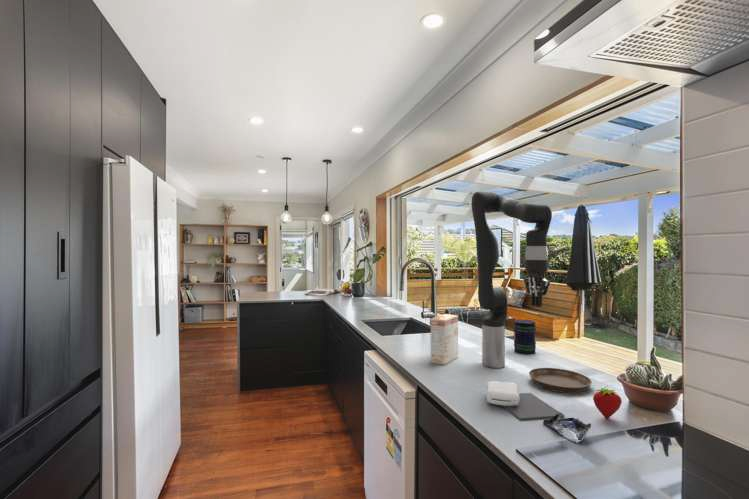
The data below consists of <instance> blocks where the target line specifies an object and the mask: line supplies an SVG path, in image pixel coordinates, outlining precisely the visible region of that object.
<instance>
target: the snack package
mask: <svg viewBox="0 0 749 499" xmlns="http://www.w3.org/2000/svg"><path fill="white" fill-rule="evenodd" d="M562 415H564V413H562V412H560V413H558V414H556V415H555V416H554V417H553V418H549V419H542V420H543V421H542V423H543V425H544V426H547V427H549V428H552V429H554V430H555V431H557V432H558V433H559V434H560V436H561V435H562V437H564V438H566V437H565V436H566V433H565V434H563V432H564V430H566V429H568V430H570V431H572V432H574V433H575V434H576V437H577V438H578V440H581V442H582V441H583V439H584V438H585V437H586V436H587V434H588V432H589V430H590V429H591V427H592V424H591V423H590V422H589V423H584V422H583V421H581V420H580V418H579V417H578V418H575V417H563V418H562V417H561V416H562ZM559 417H560V418H559ZM556 428H557V429H556ZM564 428H565V429H564ZM563 429H564V430H563ZM561 430H562V431H563V432H562V431H561ZM568 430H567V431H568ZM578 442H579V441H578Z"/></svg>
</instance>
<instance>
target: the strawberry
mask: <svg viewBox="0 0 749 499" xmlns="http://www.w3.org/2000/svg"><path fill="white" fill-rule="evenodd" d="M606 387H608V384H606ZM615 391H616V390H615V389H609V388H605V387H604V388H603V387H600V389H596V392H595V393H594V394H593V397H592V400H593V403H594V405H595V407H596V408H597V409H598V412H600V414H601V415H602V416H603V417H604V418H605V419H609V418H611V417H612V416H613V415H614V414H615V413H616V412H617V411H619V409H620V408H621V405H622V398H621V397H620V395H619V394H618V393H617V392H615Z"/></svg>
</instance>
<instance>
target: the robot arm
mask: <svg viewBox="0 0 749 499" xmlns="http://www.w3.org/2000/svg"><path fill="white" fill-rule="evenodd" d="M471 212H472V217H473V223H474V230H475V242H476V243H475V246H476V258H477V270H478V274H477V276H478V278H477V279H478V280H477V281H478V285H477V287H478V288H477V297H478V303H479V306H480V307H481V308H482V309H483V310H486V311H488V313H487V314H486V315H484V317H482V321H481V322H482V323H481V324H482V326H481V328H482V330H481V332H482V333H481V334H482V338H481V340H482V343H481V344H482V346H481V348H482V350H481V354H482V355H481V358H482V359H481V361H482V365H483V366H484V367H486V368H493V369H501V368H504V367H505V366H506V363H505V362H506V355H505V354H506V337H505V336H506V333H505V332H506V329H505V328H506V324H505V323H506V320H507V317H508V316H507V315H508V296H507V295H508V294H507V292H506V291H505V290H504V289H503V288H502V287H494V284H493V277H494V276H493V275H494V272H495V270H496V268H497V265H498V262H499V259H500V251H499V250H500V248H499V241H498V239H497V237H496V235H495V234H494V232H493V230H492V229H491V227H490V226H489V224H488V220H487V216H486V214H490V213H503V214H504V215H505V216H507V217H509V218H513V219H517V220H519V221H521V222H523V223H528V224H535V225H534V228H533V229H531V230H528V231H526V235H525V252H524V253H525V259H524V260H525V261H524V266H525V268H524V269H525V270H524V271H525V272H528V273H527V277H524V278H523V281H524V285H525V290H526V292H527V294H529V295H530V304H531V305H530V306H532V307H536V308H541V307H543V306H542V305H543V296H546V295H547V292H548V290H549V288H550V284H551V281H550V280H547V279H546V274H545V273H546V272H548V270H549V269H548V267H549V263H548V258H549V256H548V255H549V254H548V253H549V252H548V232H549V231H550V230H549V229H550V225H551V222H552V218H553V212H552V209H551V207H550V206H549V205H547V204H545V203H529V202H527V201H523V200H519V199H512V198H507V197H504V196H503V195H500V194H498V193H496V192H493V191H475V192H474V193H473V194H472V196H471Z"/></svg>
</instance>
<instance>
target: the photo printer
mask: <svg viewBox="0 0 749 499" xmlns="http://www.w3.org/2000/svg"><path fill="white" fill-rule="evenodd" d="M485 389H486V390H485V398H486V401H487V403H489V404H491V405H496V406H502V407H503V406H518V403H519V401H520V397H519V393H520V391H519V386H518V385H517V384H516V383H513V382H505V381H498V380H497V381H496V380H495V381H494V380H491V381H487V383H486V388H485Z"/></svg>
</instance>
